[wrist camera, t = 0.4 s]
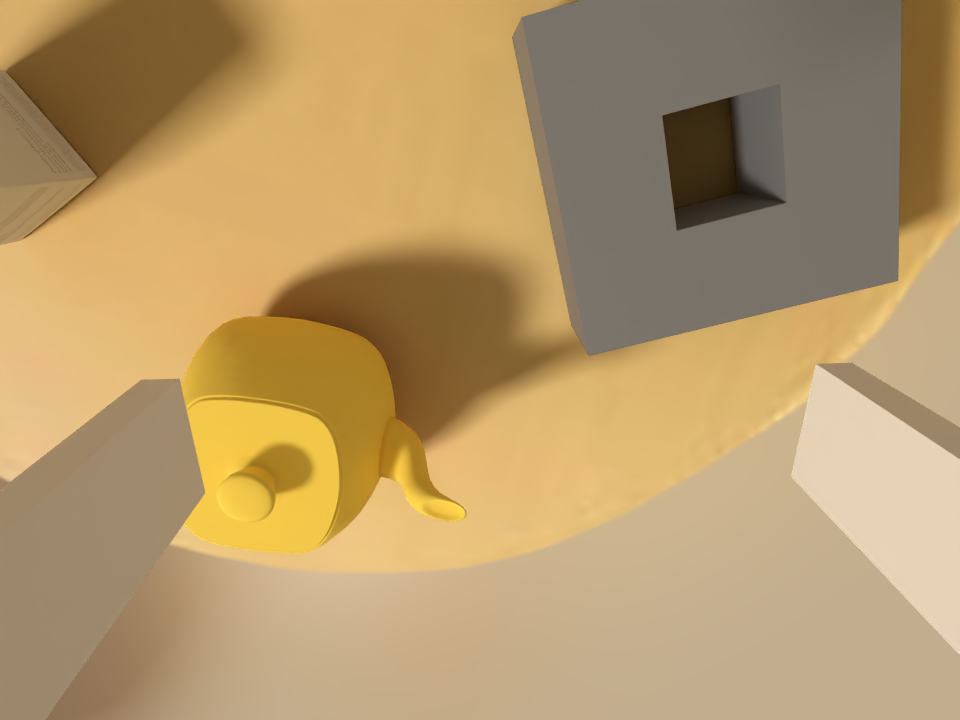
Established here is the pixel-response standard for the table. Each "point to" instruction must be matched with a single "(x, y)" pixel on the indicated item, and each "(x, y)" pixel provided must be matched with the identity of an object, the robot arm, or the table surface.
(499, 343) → the table surface
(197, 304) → the table surface
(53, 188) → the supplement box
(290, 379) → the teapot
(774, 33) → the hole block
